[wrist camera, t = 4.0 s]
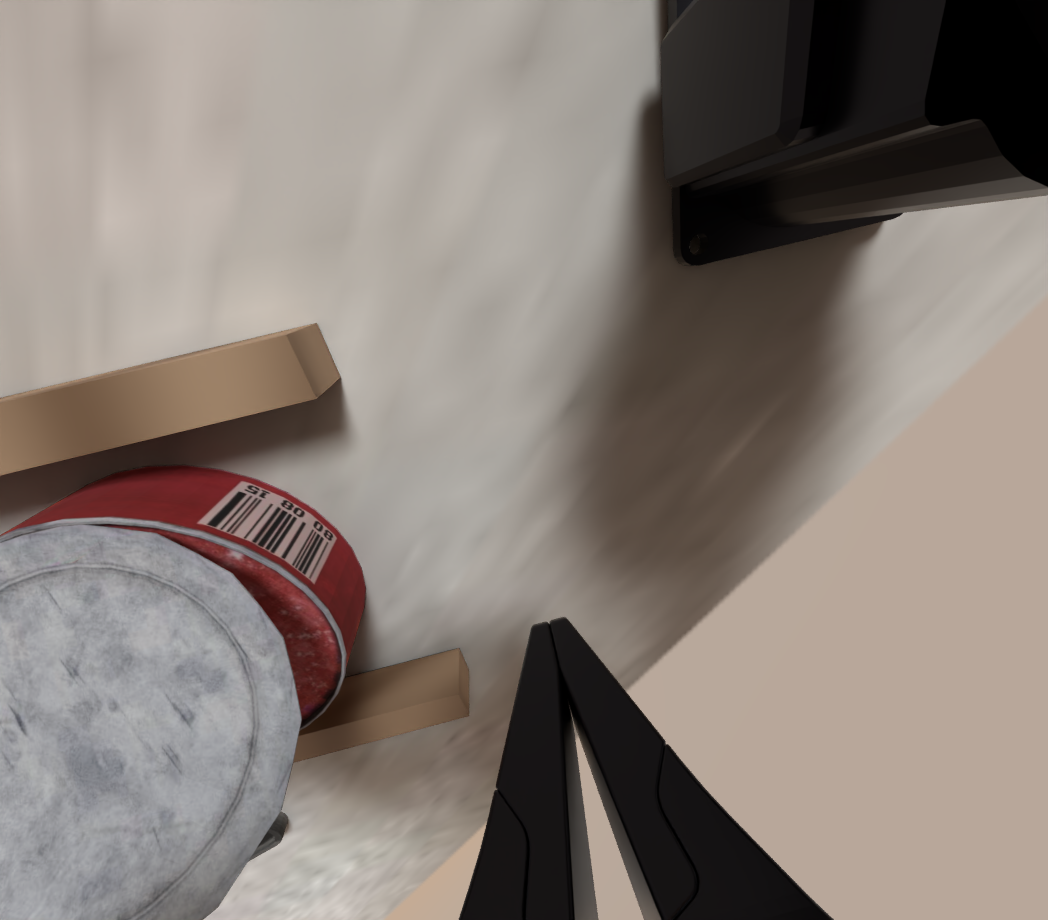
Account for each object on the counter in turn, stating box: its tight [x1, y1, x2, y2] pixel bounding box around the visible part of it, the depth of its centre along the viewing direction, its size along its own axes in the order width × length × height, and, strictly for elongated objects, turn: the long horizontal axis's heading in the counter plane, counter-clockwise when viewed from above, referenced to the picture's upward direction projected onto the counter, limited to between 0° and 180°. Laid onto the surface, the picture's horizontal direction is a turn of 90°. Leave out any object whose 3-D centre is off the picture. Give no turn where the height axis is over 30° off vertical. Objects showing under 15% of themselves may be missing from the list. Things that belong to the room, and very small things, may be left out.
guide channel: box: [0, 323, 469, 763], centre depth 13 cm, size 22×15×2 cm
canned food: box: [0, 465, 366, 920], centre depth 11 cm, size 11×10×10 cm
